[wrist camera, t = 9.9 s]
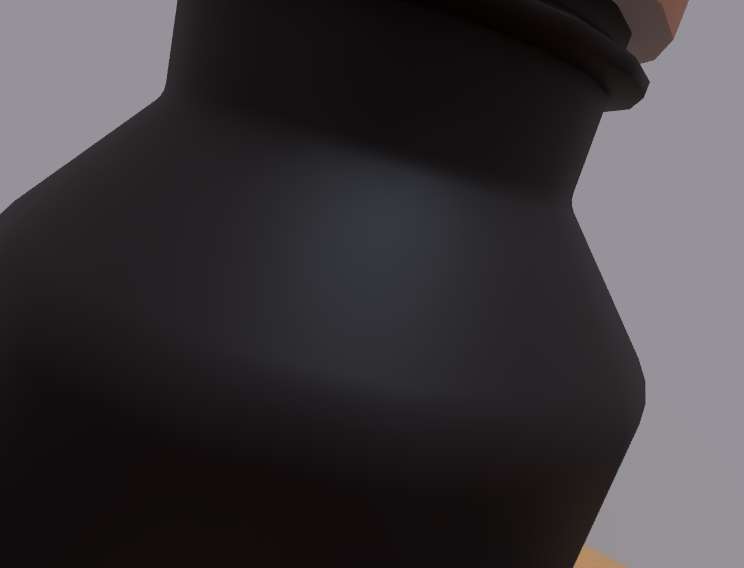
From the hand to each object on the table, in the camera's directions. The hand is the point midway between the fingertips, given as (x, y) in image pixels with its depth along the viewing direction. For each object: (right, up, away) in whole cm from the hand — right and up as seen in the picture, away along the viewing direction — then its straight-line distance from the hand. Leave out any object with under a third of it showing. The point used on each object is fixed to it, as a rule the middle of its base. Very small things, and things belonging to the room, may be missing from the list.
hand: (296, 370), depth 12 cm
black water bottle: (-2, -12, -2) cm, 12 cm away
